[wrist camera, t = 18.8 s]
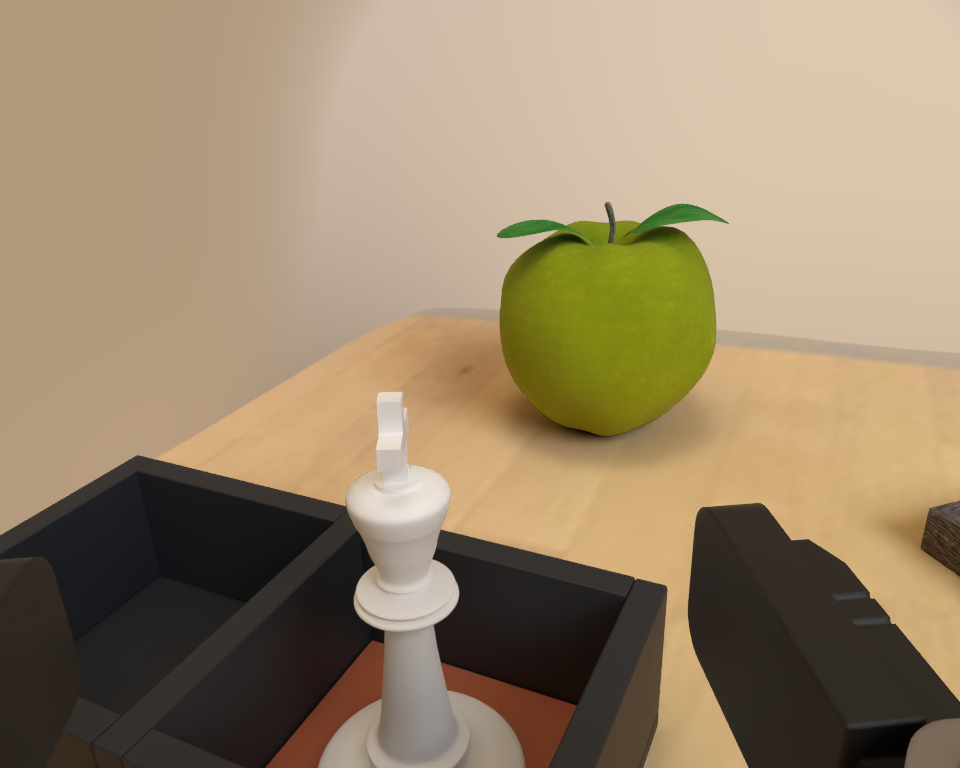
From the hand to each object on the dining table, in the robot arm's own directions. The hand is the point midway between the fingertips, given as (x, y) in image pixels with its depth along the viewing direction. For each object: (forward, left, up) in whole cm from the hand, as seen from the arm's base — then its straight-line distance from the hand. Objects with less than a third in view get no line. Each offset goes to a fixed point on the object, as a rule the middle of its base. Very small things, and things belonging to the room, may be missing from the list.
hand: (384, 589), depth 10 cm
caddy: (-7, +5, -10) cm, 13 cm away
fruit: (-5, +26, -11) cm, 28 cm away
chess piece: (-3, +4, -10) cm, 11 cm away
